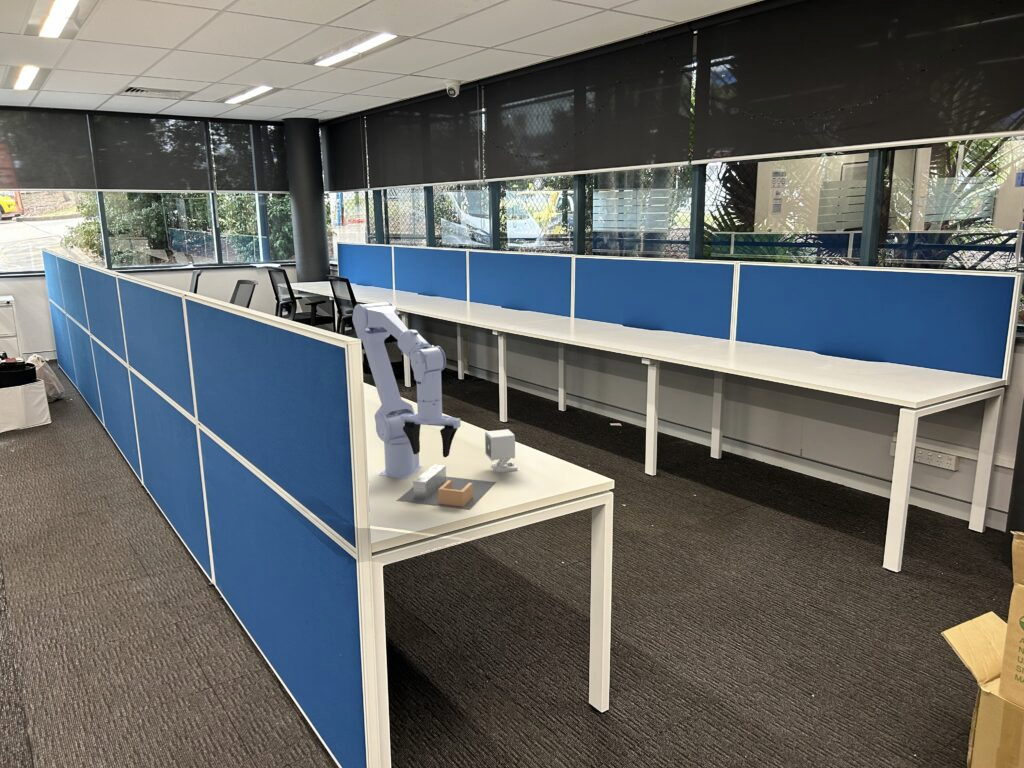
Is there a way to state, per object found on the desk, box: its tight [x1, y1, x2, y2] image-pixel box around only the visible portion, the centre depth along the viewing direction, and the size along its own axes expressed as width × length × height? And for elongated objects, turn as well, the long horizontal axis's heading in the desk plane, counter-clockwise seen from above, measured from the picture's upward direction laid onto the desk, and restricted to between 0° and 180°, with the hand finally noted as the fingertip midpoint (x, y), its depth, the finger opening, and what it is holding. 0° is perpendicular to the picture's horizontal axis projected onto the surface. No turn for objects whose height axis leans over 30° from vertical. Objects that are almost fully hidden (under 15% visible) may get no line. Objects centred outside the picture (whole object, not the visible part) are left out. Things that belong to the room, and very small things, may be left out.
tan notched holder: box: [438, 480, 473, 507], centre depth 169 cm, size 6×6×4 cm
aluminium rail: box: [412, 463, 447, 499], centre depth 176 cm, size 12×3×4 cm, turn 162°
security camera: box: [484, 428, 518, 473], centre depth 189 cm, size 6×7×10 cm
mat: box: [396, 476, 497, 511], centre depth 175 cm, size 18×18×1 cm
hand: (431, 454), depth 175 cm, fingers open, 7 cm apart
